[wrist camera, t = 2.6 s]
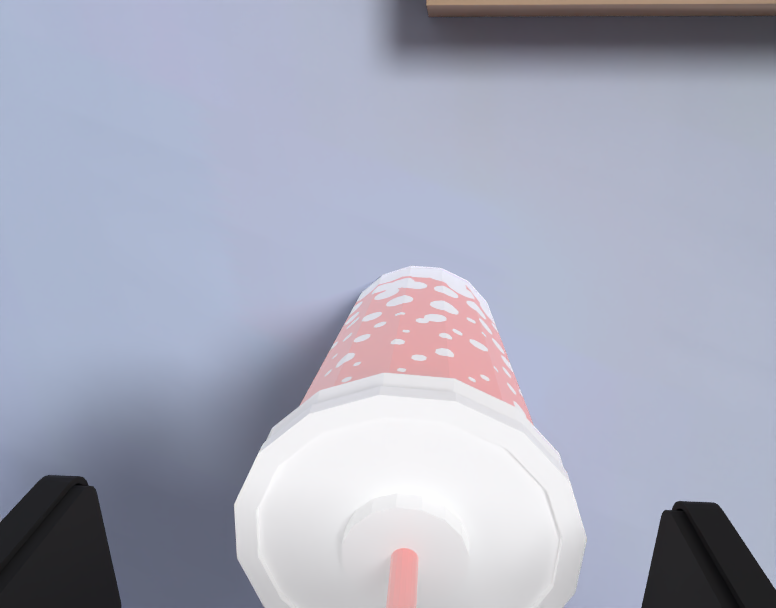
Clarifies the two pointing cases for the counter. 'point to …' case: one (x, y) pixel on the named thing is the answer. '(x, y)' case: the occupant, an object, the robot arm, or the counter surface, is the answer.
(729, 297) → the counter surface
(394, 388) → the beverage cup
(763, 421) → the counter surface
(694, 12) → the walnut base
